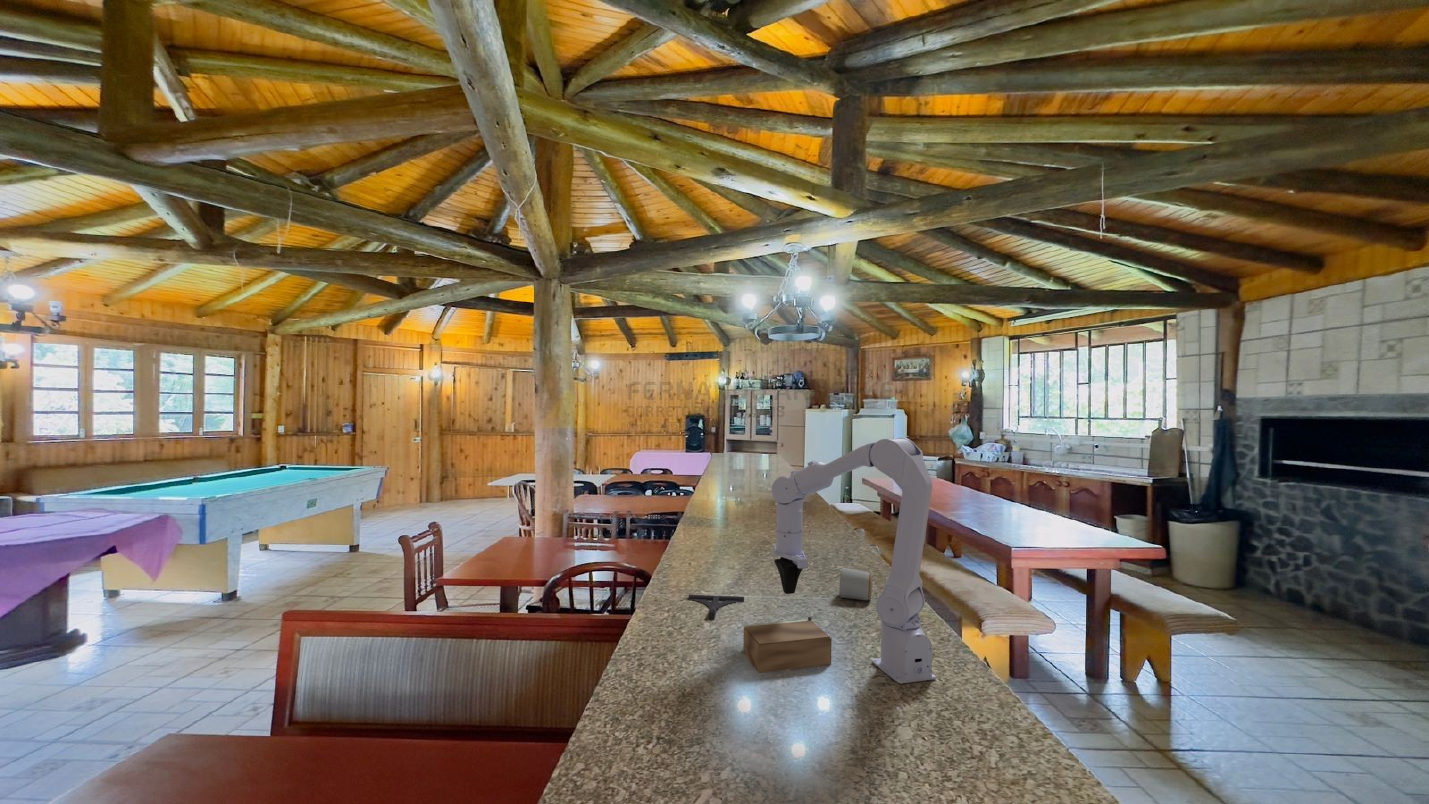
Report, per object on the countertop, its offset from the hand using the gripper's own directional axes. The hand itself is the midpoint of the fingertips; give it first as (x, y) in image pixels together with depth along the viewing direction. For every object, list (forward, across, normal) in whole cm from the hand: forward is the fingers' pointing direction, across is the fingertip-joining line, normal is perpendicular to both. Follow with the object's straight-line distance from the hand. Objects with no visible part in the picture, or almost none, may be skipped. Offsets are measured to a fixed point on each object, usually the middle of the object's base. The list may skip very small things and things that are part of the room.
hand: (789, 592), depth 122 cm
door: (+9, +5, -5) cm, 11 cm away
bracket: (+10, -20, -11) cm, 25 cm away
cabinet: (+9, +10, -5) cm, 15 cm away
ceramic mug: (+10, -20, +28) cm, 35 cm away
